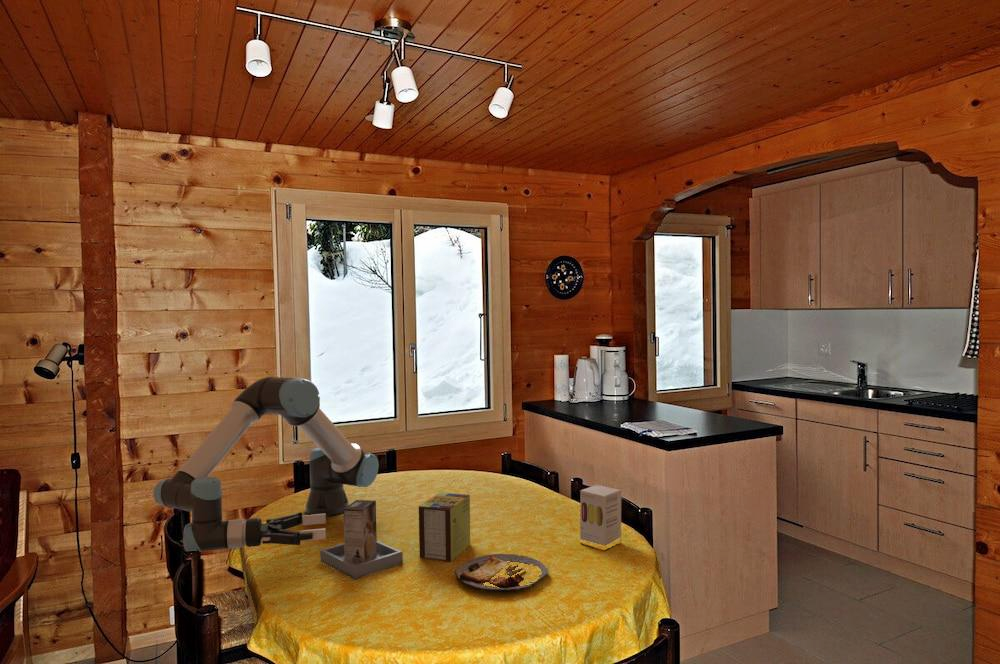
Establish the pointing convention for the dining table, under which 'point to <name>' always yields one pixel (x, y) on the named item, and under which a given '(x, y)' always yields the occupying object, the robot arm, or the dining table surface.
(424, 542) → the protein box
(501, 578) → the food plate
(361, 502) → the coffee box
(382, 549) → the tray
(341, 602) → the dining table surface
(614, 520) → the supplement box
